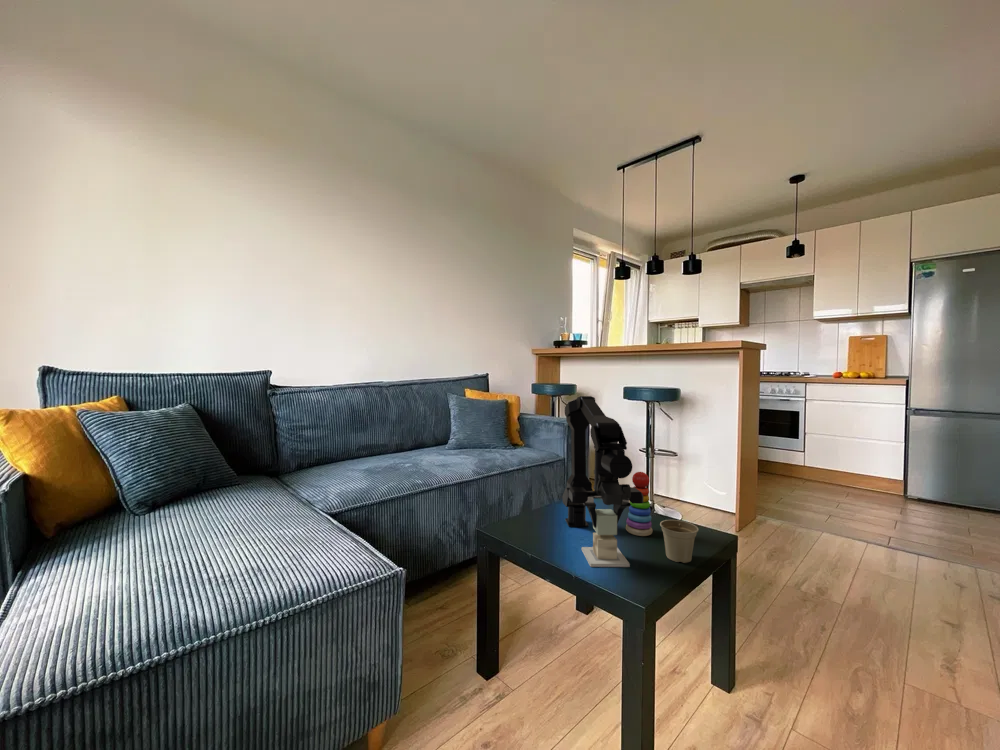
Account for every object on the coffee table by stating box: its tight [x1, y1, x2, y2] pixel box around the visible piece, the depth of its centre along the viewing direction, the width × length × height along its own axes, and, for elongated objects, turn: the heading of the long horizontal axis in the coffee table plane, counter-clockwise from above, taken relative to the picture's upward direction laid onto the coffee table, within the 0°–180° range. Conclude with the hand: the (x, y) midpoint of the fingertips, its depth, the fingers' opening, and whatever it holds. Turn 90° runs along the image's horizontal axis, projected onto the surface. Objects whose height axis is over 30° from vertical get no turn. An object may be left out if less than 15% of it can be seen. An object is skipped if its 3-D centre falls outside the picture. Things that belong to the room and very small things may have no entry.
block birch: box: [592, 532, 618, 559], centre depth 108 cm, size 5×5×5 cm
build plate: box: [581, 546, 631, 568], centre depth 108 cm, size 10×10×1 cm
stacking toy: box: [625, 471, 654, 537], centre depth 127 cm, size 8×8×19 cm
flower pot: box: [659, 519, 699, 564], centre depth 109 cm, size 9×9×9 cm
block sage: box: [592, 508, 618, 536], centre depth 108 cm, size 5×5×5 cm
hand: (604, 527), depth 108 cm, fingers closed on block sage, 5 cm apart
